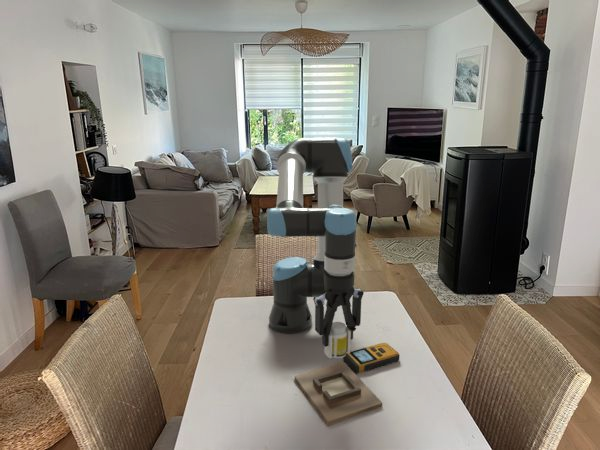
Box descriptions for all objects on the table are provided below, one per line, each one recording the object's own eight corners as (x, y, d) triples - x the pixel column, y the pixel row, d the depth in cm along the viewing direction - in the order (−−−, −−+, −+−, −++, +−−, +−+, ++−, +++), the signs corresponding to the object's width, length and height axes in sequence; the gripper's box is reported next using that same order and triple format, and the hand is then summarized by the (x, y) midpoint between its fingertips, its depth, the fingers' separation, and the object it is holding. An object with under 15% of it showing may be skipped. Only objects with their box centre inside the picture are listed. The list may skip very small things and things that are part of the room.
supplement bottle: (348, 350, 117) (349, 322, 115) (343, 360, 113) (344, 331, 111) (330, 347, 119) (331, 319, 116) (325, 356, 114) (326, 328, 112)
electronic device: (400, 363, 133) (401, 353, 132) (356, 376, 127) (357, 366, 126) (384, 349, 141) (385, 339, 140) (342, 360, 134) (342, 351, 133)
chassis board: (294, 379, 125) (294, 371, 124) (343, 365, 131) (343, 357, 130) (327, 425, 107) (328, 416, 107) (382, 406, 114) (382, 397, 113)
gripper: (314, 282, 102) (313, 369, 109) (378, 270, 109) (373, 352, 116) (300, 271, 109) (300, 353, 115) (361, 260, 116) (358, 338, 123)
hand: (337, 352), depth 116 cm, fingers closed on supplement bottle, 5 cm apart
